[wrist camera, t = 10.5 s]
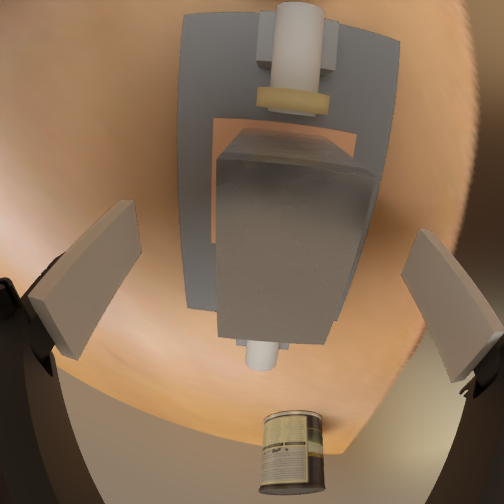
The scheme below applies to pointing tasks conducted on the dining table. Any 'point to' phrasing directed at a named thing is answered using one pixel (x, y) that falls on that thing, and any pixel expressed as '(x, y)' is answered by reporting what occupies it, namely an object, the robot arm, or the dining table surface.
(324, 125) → the coupling stand
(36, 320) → the robot arm
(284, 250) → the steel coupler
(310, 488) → the coffee can
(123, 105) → the dining table surface
